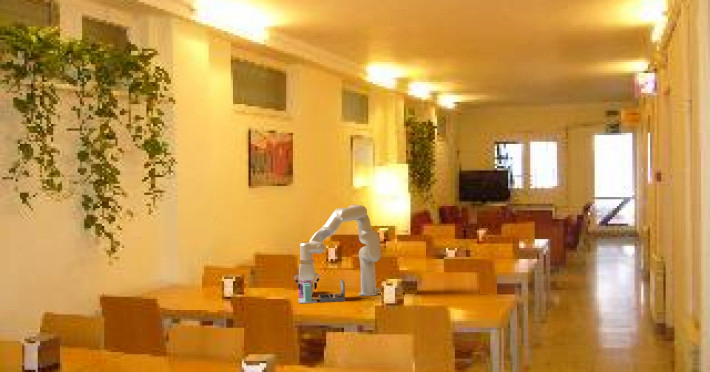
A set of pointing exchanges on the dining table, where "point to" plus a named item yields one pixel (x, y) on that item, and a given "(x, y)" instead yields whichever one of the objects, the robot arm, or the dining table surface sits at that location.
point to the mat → (307, 302)
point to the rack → (330, 296)
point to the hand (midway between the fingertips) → (307, 289)
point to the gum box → (301, 294)
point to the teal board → (307, 292)
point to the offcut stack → (337, 295)
